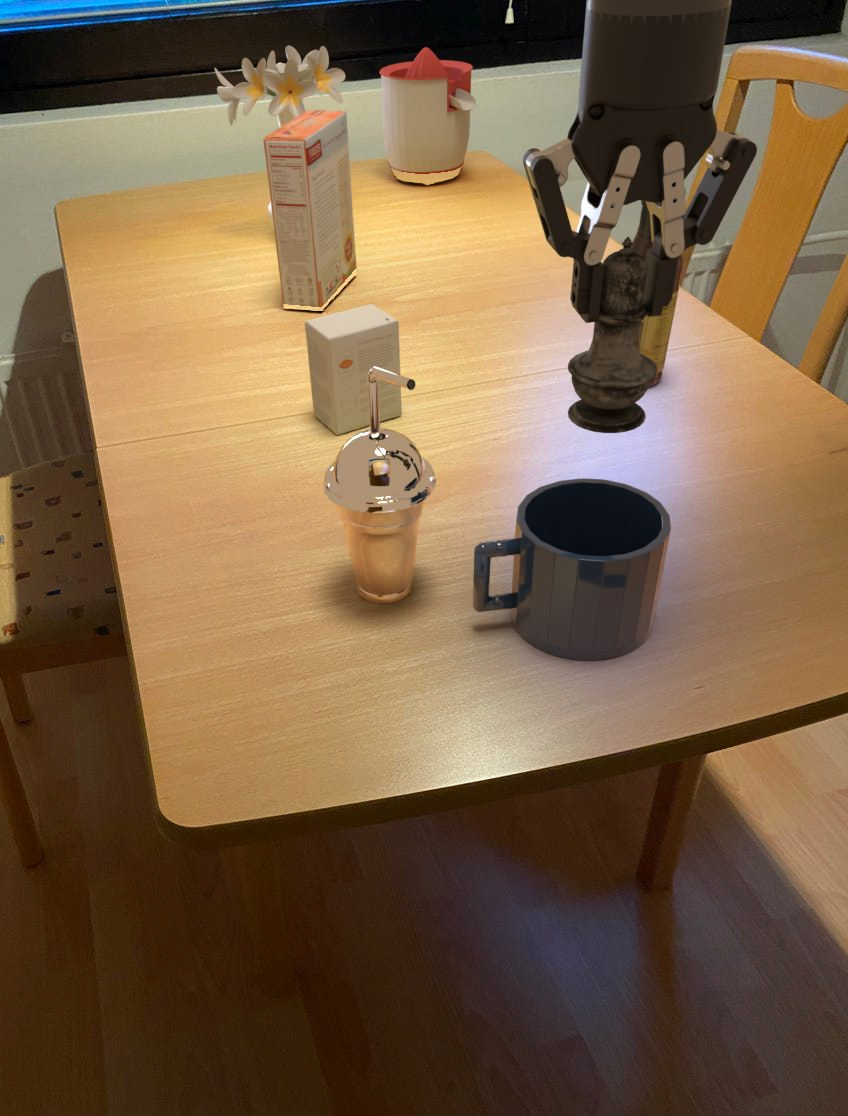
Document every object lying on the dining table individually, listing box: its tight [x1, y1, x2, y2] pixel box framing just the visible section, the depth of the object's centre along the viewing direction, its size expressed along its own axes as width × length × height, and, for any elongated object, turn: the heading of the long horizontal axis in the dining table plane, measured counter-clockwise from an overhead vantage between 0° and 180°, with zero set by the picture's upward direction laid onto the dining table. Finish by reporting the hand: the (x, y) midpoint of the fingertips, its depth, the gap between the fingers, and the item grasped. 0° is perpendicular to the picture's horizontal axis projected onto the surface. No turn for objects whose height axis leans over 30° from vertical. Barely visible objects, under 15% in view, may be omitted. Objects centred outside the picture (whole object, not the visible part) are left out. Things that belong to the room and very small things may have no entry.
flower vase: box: [214, 45, 346, 227], centre depth 142 cm, size 13×18×25 cm
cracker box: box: [262, 109, 357, 307], centre depth 124 cm, size 14×6×21 cm, turn 161°
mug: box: [472, 477, 672, 661], centre depth 72 cm, size 14×11×9 cm
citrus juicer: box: [379, 46, 477, 174], centre depth 165 cm, size 16×17×20 cm
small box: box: [304, 303, 403, 436], centre depth 99 cm, size 8×6×10 cm
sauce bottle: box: [631, 189, 687, 387], centre depth 99 cm, size 7×6×20 cm
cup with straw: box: [322, 366, 437, 604], centre depth 72 cm, size 8×9×20 cm
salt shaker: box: [567, 236, 658, 434], centre depth 63 cm, size 6×6×12 cm
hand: (619, 313), depth 62 cm, fingers closed on salt shaker, 3 cm apart
